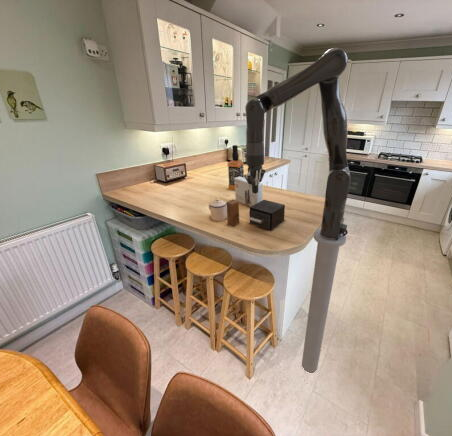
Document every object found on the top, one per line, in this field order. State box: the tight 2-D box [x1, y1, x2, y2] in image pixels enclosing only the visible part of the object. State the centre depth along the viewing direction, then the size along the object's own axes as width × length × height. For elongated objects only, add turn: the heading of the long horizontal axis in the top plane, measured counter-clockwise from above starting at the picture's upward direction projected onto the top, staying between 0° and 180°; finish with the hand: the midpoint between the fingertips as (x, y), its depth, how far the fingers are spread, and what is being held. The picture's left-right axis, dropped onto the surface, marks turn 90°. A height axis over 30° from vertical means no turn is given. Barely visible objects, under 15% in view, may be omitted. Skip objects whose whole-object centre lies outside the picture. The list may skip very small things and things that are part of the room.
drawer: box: [248, 208, 271, 230], centre depth 123 cm, size 16×12×8 cm
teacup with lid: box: [208, 197, 227, 222], centre depth 131 cm, size 12×9×12 cm
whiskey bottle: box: [227, 144, 245, 191], centre depth 172 cm, size 10×10×32 cm
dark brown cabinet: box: [249, 199, 286, 231], centre depth 126 cm, size 14×14×10 cm
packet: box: [225, 198, 240, 227], centre depth 123 cm, size 4×5×13 cm
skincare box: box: [234, 176, 264, 208], centre depth 148 cm, size 21×6×16 cm, turn 45°
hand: (255, 192), depth 103 cm, fingers closed
